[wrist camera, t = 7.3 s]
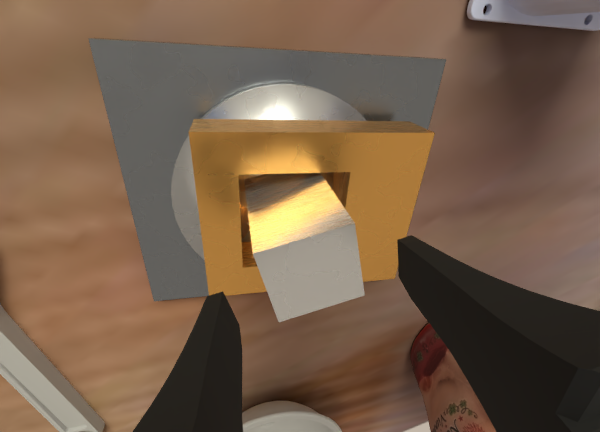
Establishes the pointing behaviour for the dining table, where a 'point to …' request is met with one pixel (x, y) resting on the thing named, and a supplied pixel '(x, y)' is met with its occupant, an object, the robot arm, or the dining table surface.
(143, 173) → the bracket rosette
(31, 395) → the adjustable wrench
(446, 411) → the brown ceramic rounded pot
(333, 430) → the dish
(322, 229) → the rectangular block
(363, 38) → the dining table surface
